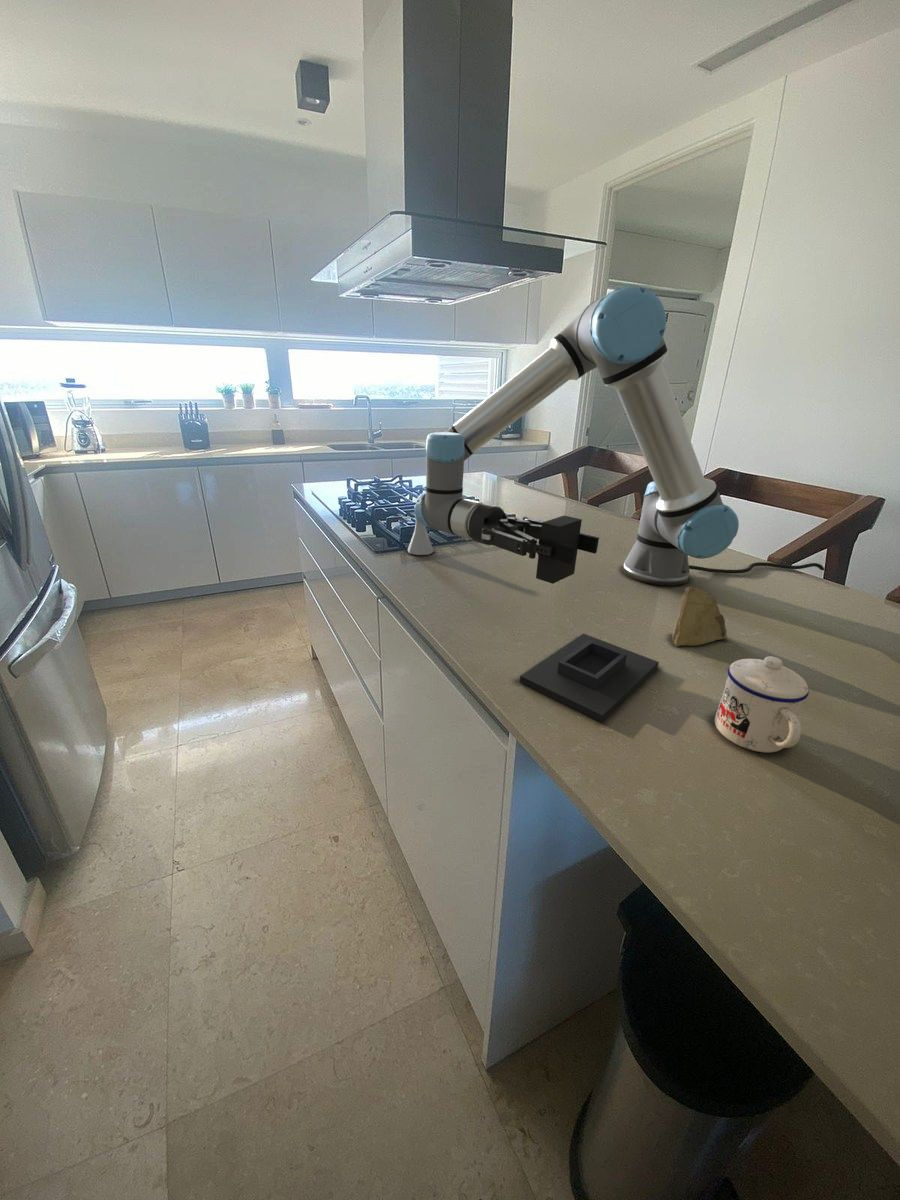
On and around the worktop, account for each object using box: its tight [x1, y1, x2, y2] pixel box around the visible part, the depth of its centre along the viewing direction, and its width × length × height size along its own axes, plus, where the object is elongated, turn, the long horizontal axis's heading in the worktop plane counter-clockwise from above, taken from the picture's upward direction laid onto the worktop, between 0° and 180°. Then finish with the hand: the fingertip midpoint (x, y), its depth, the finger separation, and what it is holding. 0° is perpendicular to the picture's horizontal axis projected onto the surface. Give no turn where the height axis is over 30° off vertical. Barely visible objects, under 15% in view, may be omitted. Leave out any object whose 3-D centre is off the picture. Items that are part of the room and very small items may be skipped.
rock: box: [671, 586, 728, 647], centre depth 89 cm, size 11×9×10 cm
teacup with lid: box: [714, 655, 810, 753], centre depth 63 cm, size 12×9×12 cm
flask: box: [407, 515, 434, 556], centre depth 131 cm, size 7×7×10 cm
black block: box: [535, 515, 583, 585], centre depth 84 cm, size 7×4×10 cm, turn 137°
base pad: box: [519, 633, 660, 723], centre depth 78 cm, size 20×14×3 cm
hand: (585, 550), depth 80 cm, fingers closed on black block, 7 cm apart
